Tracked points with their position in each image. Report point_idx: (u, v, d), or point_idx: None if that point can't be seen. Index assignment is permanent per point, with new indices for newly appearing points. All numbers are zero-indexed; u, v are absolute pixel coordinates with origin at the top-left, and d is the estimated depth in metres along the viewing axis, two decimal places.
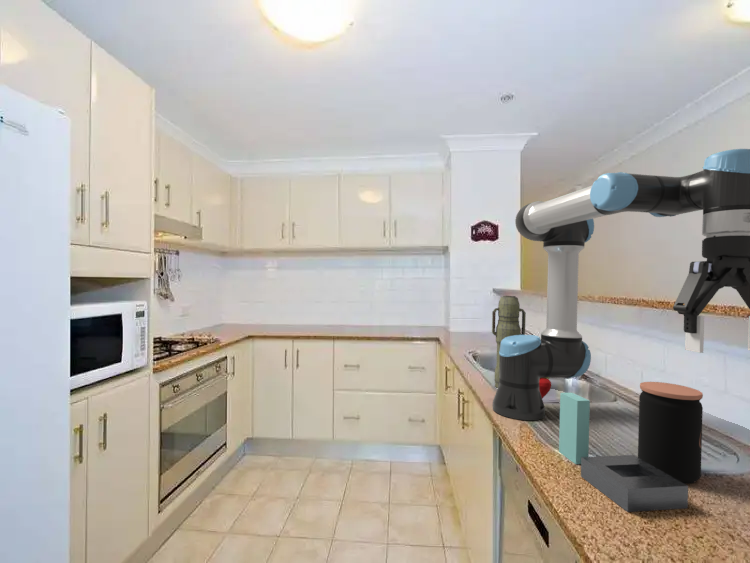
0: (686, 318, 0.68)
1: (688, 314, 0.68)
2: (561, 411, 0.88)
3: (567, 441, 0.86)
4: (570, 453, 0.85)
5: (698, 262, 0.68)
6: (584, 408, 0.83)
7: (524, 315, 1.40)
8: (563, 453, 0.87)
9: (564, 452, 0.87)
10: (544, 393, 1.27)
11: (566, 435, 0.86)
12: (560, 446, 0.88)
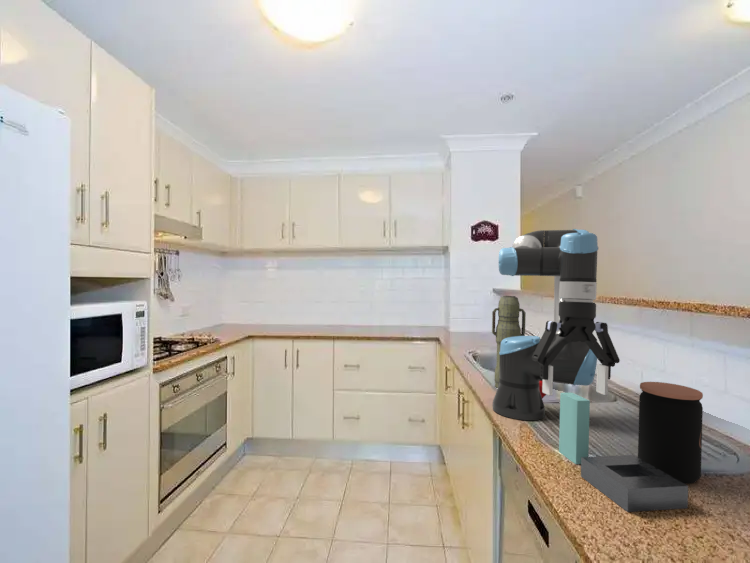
0: (541, 367, 0.85)
1: (541, 364, 0.84)
2: (561, 411, 0.88)
3: (567, 441, 0.86)
4: (570, 453, 0.85)
5: (550, 322, 0.85)
6: (584, 408, 0.83)
7: (524, 315, 1.40)
8: (563, 453, 0.87)
9: (564, 452, 0.87)
10: (544, 393, 1.27)
11: (566, 435, 0.86)
12: (560, 446, 0.88)
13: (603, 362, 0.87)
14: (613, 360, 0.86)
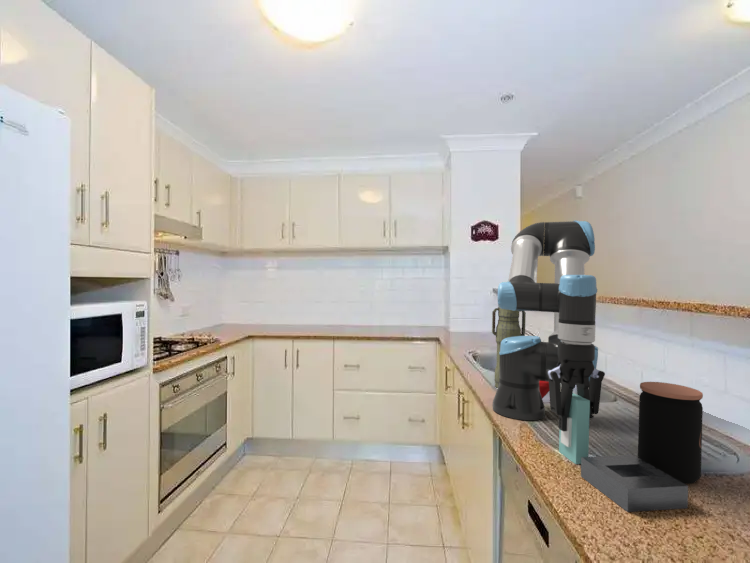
0: (559, 418, 0.86)
1: (560, 416, 0.85)
2: None
3: None
4: (570, 453, 0.85)
5: (549, 372, 0.85)
6: (584, 408, 0.83)
7: (524, 315, 1.40)
8: (563, 453, 0.87)
9: (564, 452, 0.87)
10: (544, 393, 1.27)
11: None
12: (560, 446, 0.88)
13: None
14: (592, 409, 0.85)
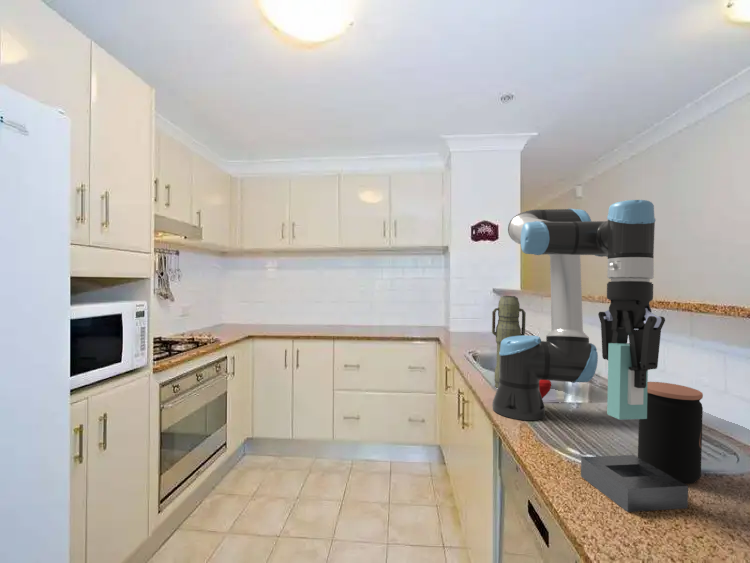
0: None
1: None
2: None
3: None
4: None
5: None
6: (615, 353, 0.72)
7: (524, 315, 1.40)
8: None
9: None
10: (544, 393, 1.27)
11: None
12: None
13: None
14: None
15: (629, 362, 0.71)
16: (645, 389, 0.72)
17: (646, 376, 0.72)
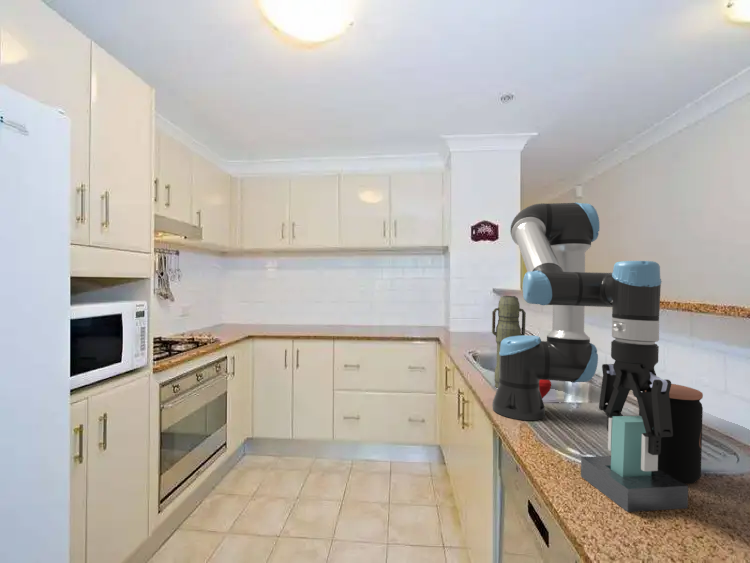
0: None
1: None
2: None
3: None
4: None
5: None
6: (619, 428, 0.72)
7: (524, 315, 1.40)
8: None
9: None
10: (544, 393, 1.27)
11: None
12: None
13: None
14: None
15: (633, 439, 0.70)
16: None
17: None
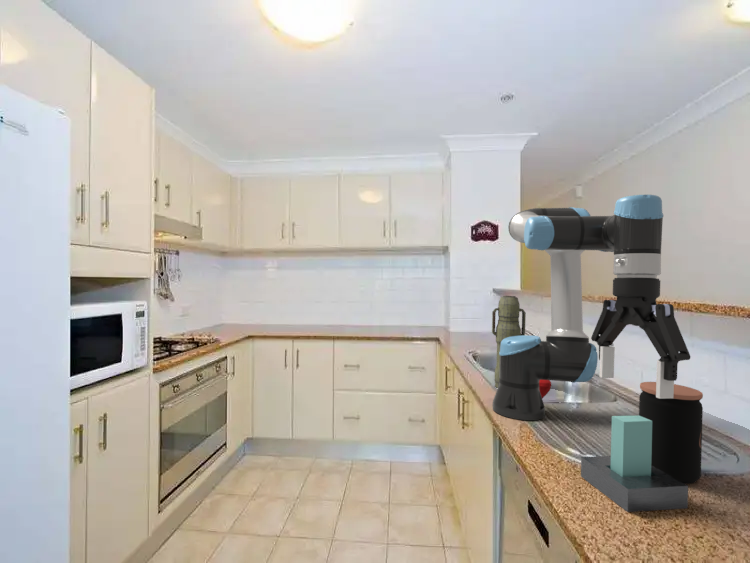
0: None
1: None
2: None
3: None
4: None
5: None
6: (618, 428, 0.72)
7: (524, 315, 1.40)
8: None
9: None
10: (544, 393, 1.27)
11: None
12: None
13: None
14: None
15: (632, 438, 0.71)
16: (649, 465, 0.71)
17: (650, 452, 0.71)
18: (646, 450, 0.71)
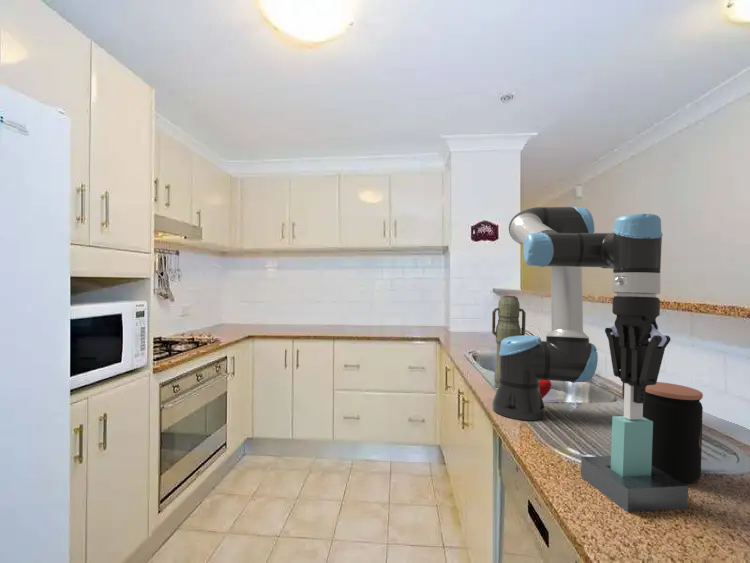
0: None
1: None
2: None
3: None
4: None
5: None
6: (618, 428, 0.72)
7: (524, 315, 1.40)
8: None
9: None
10: (544, 393, 1.27)
11: None
12: None
13: None
14: None
15: (633, 439, 0.71)
16: (649, 465, 0.71)
17: (650, 452, 0.71)
18: (646, 450, 0.71)
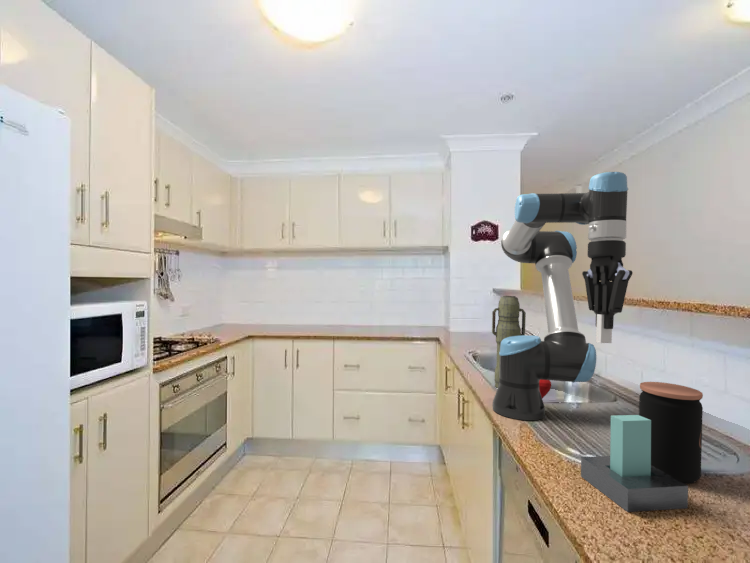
0: None
1: None
2: None
3: None
4: None
5: None
6: (617, 427, 0.72)
7: (524, 315, 1.40)
8: None
9: None
10: (544, 393, 1.27)
11: None
12: None
13: None
14: None
15: (631, 437, 0.71)
16: (648, 464, 0.71)
17: (649, 451, 0.71)
18: (645, 449, 0.71)
